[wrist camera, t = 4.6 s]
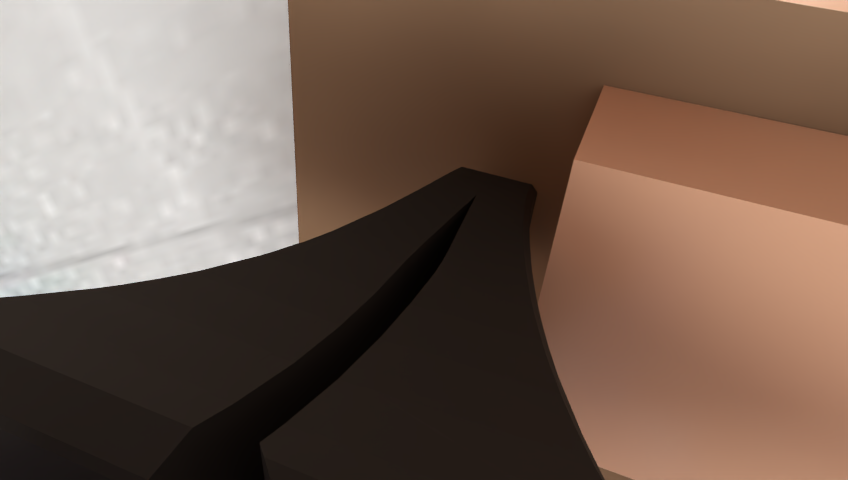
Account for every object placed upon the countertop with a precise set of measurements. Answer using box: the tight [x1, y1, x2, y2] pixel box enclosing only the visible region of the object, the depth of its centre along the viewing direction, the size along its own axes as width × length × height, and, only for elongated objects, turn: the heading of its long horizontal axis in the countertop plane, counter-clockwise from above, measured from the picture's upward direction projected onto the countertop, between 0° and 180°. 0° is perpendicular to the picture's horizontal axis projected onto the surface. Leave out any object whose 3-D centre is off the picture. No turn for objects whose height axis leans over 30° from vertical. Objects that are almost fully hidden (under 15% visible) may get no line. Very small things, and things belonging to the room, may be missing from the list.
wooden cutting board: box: [288, 0, 848, 480], centre depth 11 cm, size 17×12×4 cm
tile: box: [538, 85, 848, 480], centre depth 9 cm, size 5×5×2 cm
